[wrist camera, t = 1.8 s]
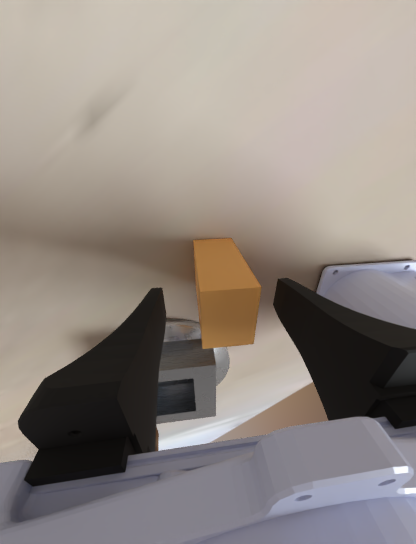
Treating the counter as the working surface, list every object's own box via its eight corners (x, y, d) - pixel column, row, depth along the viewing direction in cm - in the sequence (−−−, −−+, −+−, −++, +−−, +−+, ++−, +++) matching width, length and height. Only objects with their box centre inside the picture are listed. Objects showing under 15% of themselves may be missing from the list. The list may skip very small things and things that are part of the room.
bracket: (229, 313, 20) (239, 346, 16) (226, 387, 26) (232, 422, 22) (98, 325, 18) (79, 363, 15) (127, 399, 25) (118, 438, 21)
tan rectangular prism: (231, 238, 16) (261, 287, 10) (229, 280, 18) (253, 343, 12) (193, 240, 16) (200, 292, 9) (195, 283, 17) (202, 349, 11)
